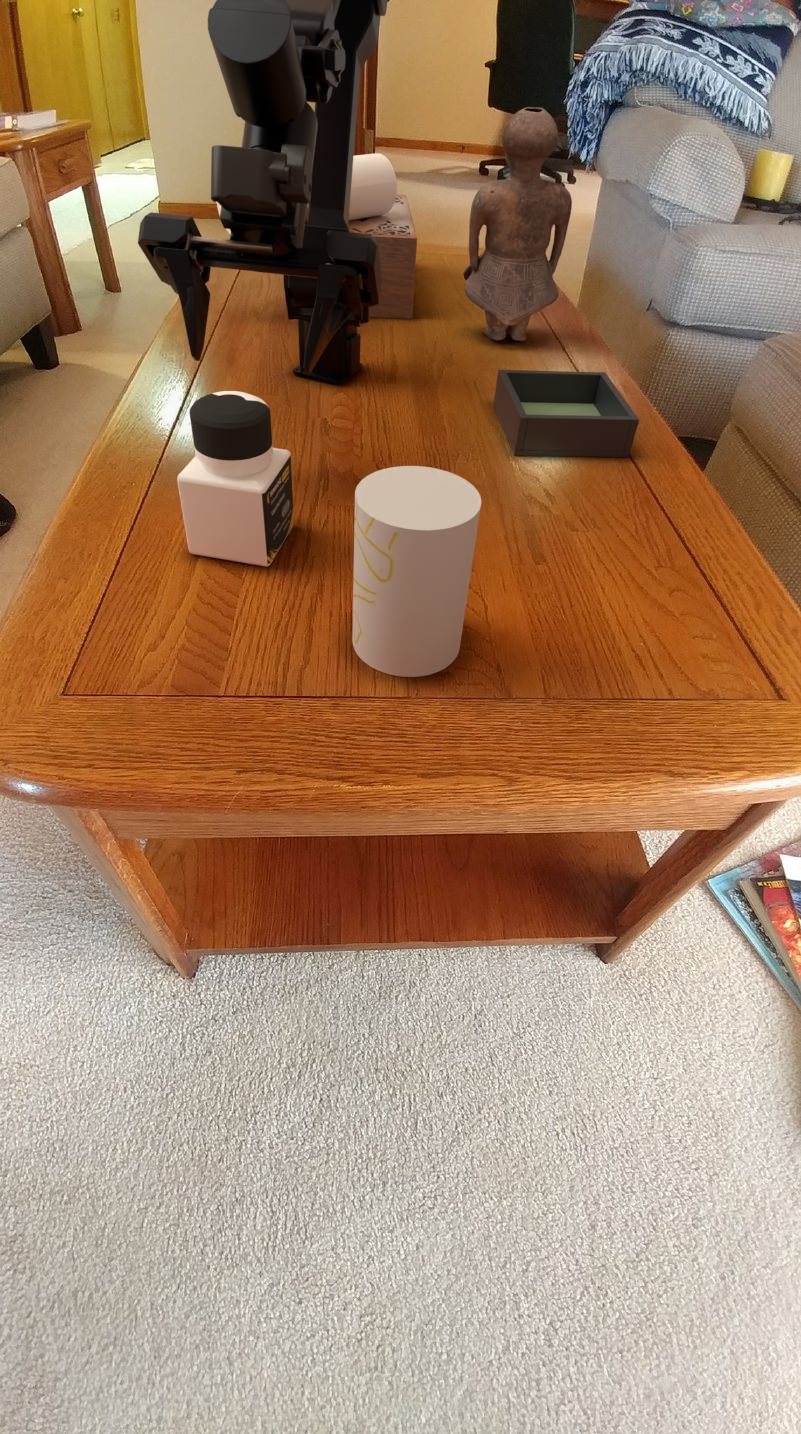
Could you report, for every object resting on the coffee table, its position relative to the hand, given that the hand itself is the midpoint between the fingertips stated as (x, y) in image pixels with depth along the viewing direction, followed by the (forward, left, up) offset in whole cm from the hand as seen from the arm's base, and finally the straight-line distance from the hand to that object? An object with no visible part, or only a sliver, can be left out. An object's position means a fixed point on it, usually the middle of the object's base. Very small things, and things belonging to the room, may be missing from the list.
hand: (250, 364), depth 61 cm
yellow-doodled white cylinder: (+20, -12, -13) cm, 26 cm away
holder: (+20, +30, -12) cm, 38 cm away
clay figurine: (+6, +55, -13) cm, 57 cm away
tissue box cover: (-20, +63, -13) cm, 67 cm away
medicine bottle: (+2, -6, -13) cm, 14 cm away
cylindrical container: (-27, +40, +1) cm, 48 cm away
